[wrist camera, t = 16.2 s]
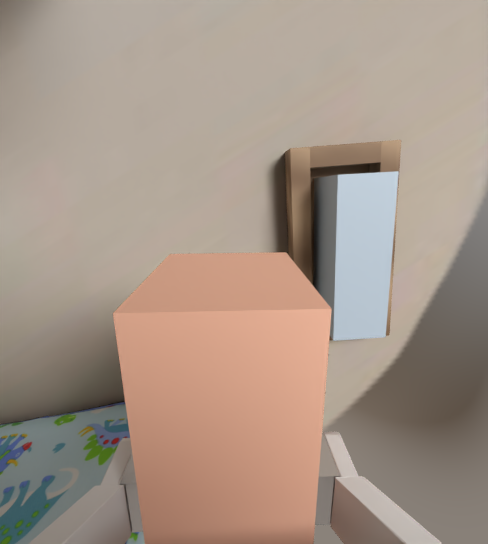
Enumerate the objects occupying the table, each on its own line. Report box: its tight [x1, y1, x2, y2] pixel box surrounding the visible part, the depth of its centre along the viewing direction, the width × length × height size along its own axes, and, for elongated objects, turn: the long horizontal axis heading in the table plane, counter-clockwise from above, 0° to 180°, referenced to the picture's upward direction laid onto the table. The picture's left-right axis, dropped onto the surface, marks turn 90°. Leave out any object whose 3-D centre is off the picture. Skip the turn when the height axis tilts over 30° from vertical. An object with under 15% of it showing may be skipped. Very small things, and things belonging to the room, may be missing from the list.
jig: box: [285, 140, 401, 340], centre depth 26 cm, size 16×8×3 cm, turn 4°
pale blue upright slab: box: [313, 171, 399, 341], centre depth 24 cm, size 12×4×6 cm, turn 3°
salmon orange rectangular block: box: [113, 252, 332, 544], centre depth 9 cm, size 12×4×5 cm, turn 1°
